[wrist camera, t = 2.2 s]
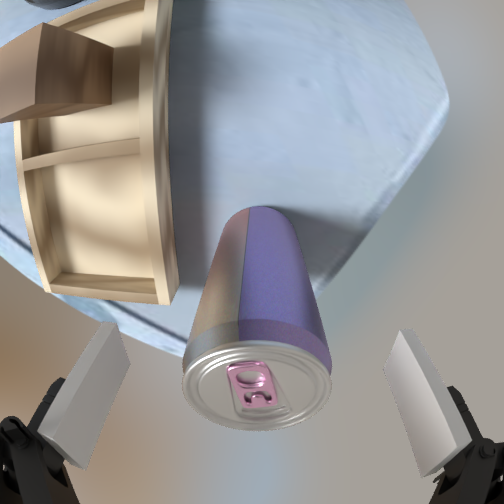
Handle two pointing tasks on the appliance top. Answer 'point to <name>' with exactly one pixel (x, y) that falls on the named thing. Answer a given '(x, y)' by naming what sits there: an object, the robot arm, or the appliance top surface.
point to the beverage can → (257, 331)
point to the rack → (106, 168)
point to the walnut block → (53, 74)
